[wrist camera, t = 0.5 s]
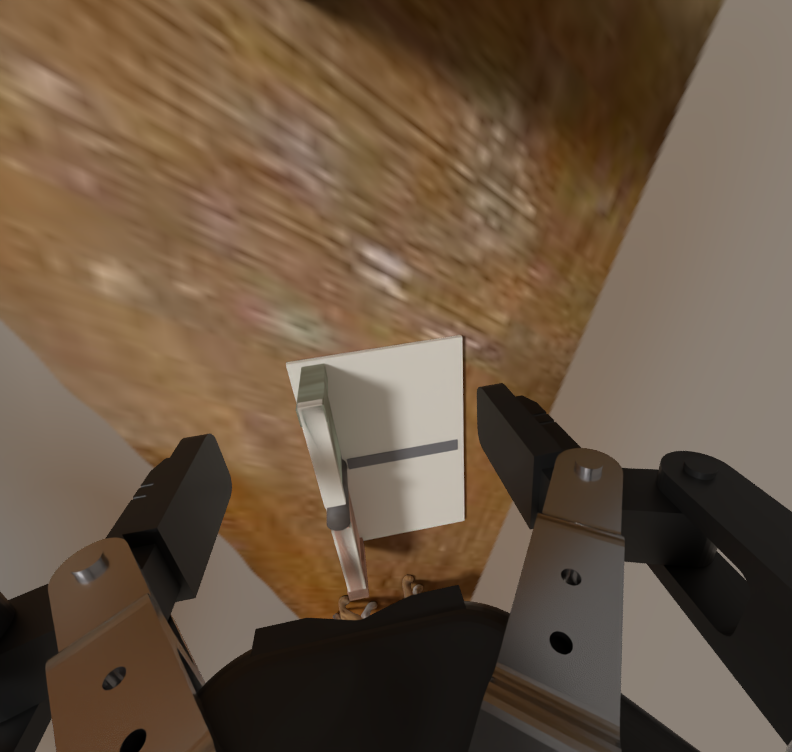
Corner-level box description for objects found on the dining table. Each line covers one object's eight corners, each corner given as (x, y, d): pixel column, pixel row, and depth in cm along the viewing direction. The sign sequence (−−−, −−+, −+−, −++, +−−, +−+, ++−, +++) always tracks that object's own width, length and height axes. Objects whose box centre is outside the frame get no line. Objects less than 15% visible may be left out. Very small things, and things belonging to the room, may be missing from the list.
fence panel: (329, 481, 35) (330, 530, 30) (349, 477, 35) (352, 526, 31) (347, 549, 40) (349, 601, 35) (364, 545, 40) (368, 596, 36)
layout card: (286, 362, 30) (285, 365, 29) (460, 334, 31) (462, 337, 30) (336, 542, 41) (336, 546, 40) (463, 517, 42) (464, 521, 41)
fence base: (301, 365, 29) (294, 412, 24) (324, 362, 30) (323, 407, 24) (329, 474, 35) (329, 532, 30) (348, 471, 35) (351, 528, 30)
